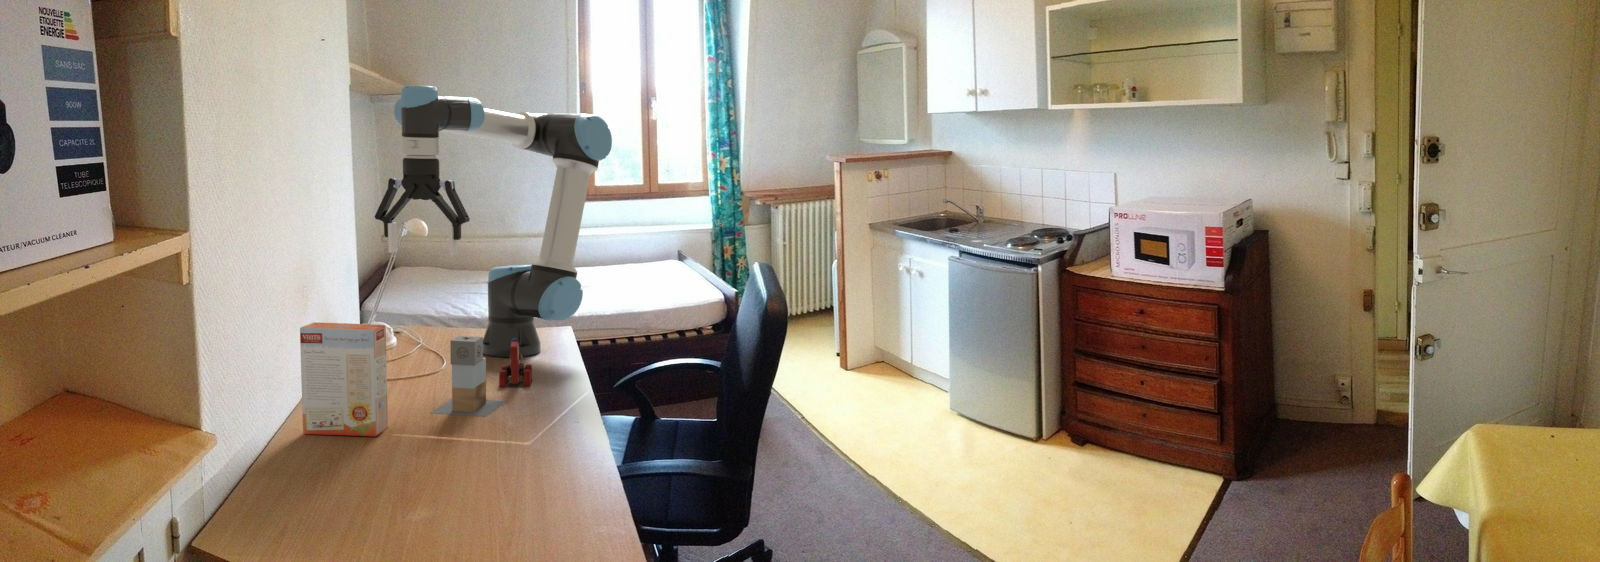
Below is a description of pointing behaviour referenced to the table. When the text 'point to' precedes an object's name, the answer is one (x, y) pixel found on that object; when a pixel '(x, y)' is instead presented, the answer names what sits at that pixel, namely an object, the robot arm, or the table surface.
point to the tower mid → (468, 375)
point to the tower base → (468, 398)
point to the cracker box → (344, 379)
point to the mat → (482, 411)
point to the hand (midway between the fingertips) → (423, 253)
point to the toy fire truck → (515, 368)
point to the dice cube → (466, 350)
